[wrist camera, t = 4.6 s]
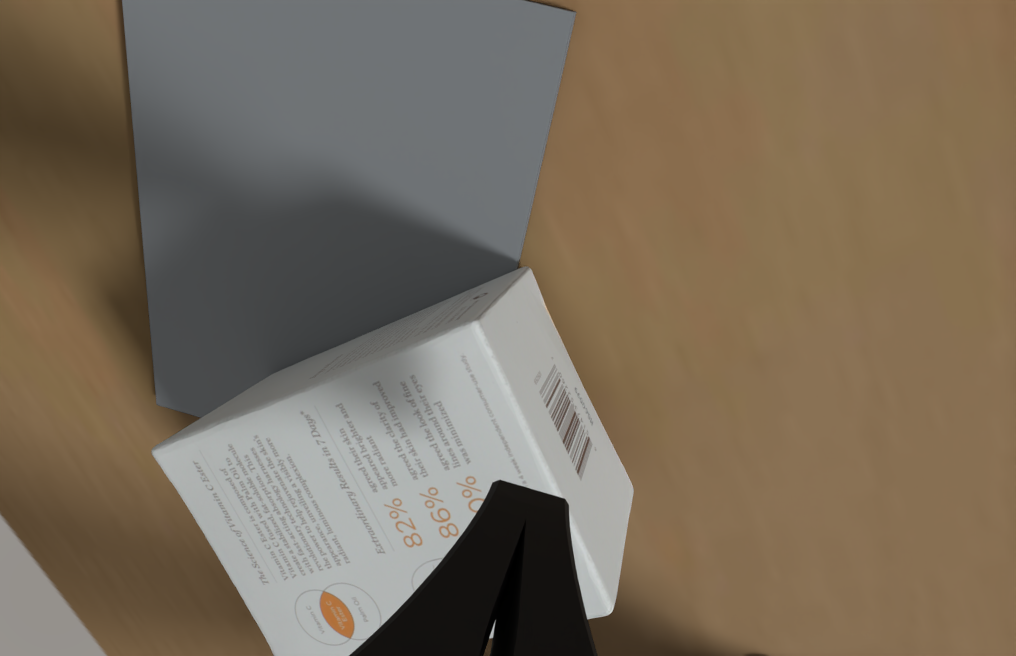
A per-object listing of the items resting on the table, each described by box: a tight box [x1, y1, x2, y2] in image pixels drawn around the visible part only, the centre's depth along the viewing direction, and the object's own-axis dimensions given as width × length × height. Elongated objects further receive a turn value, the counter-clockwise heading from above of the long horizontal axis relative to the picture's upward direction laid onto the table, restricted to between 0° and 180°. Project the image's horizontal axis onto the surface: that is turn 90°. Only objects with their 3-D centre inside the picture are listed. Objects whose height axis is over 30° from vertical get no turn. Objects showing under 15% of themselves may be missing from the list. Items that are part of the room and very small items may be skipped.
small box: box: [152, 266, 634, 656], centre depth 19 cm, size 8×6×10 cm
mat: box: [122, 0, 576, 418], centre depth 20 cm, size 12×16×1 cm
